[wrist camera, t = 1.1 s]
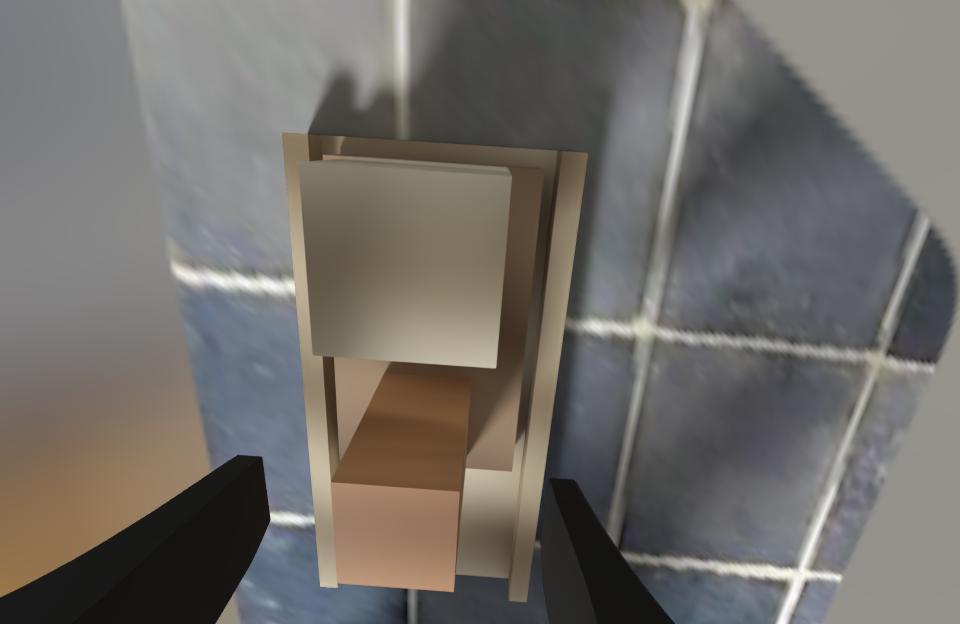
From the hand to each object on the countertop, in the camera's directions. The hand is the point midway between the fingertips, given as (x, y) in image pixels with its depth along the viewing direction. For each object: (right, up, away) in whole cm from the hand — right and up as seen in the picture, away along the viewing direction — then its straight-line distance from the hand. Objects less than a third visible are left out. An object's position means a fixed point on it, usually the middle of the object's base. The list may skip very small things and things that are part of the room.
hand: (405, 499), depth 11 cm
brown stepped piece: (0, +4, +4) cm, 6 cm away
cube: (0, +7, +2) cm, 7 cm away
